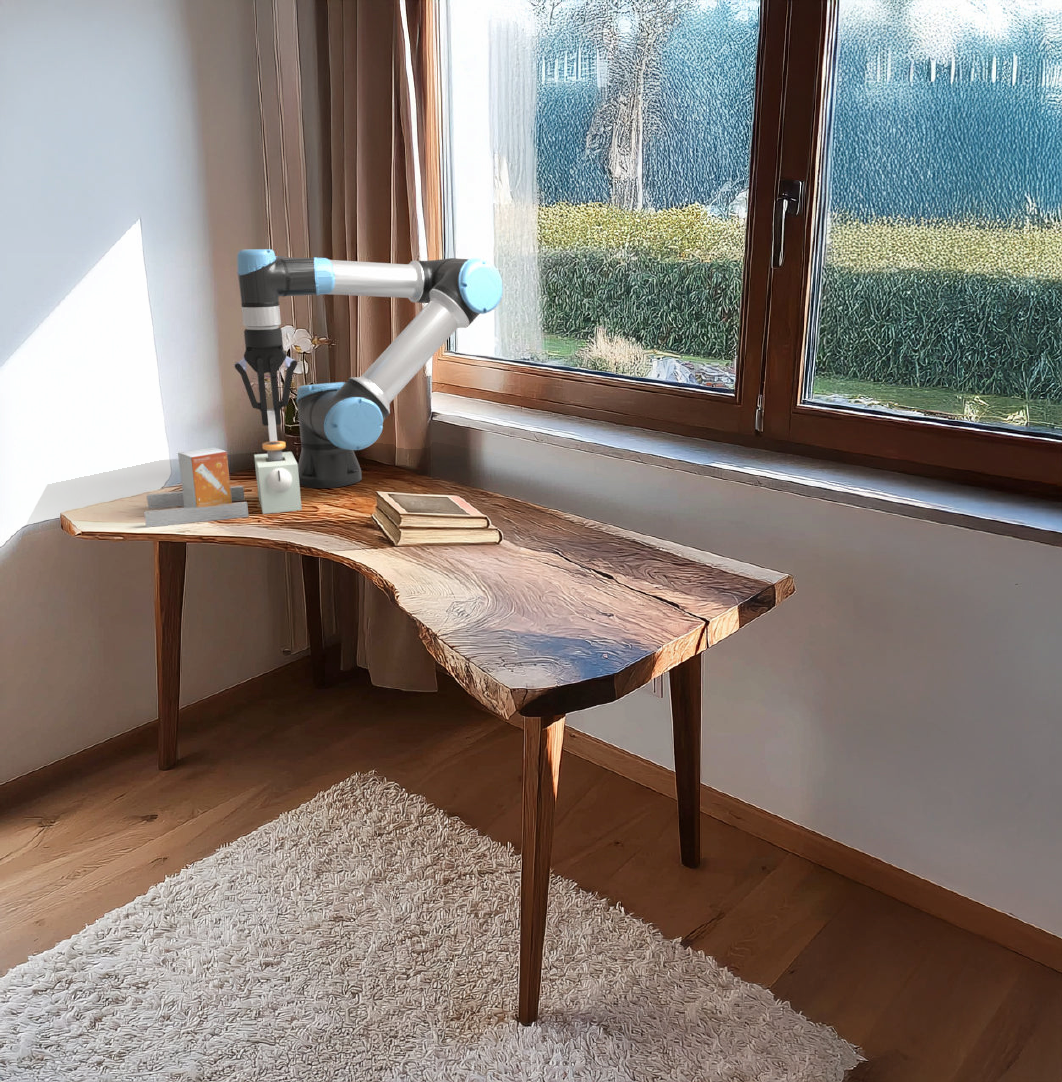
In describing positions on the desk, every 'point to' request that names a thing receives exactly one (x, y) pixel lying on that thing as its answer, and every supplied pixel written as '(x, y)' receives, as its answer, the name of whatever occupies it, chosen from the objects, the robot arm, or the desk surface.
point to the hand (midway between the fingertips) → (273, 440)
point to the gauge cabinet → (278, 483)
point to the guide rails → (192, 509)
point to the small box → (205, 477)
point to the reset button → (274, 450)
